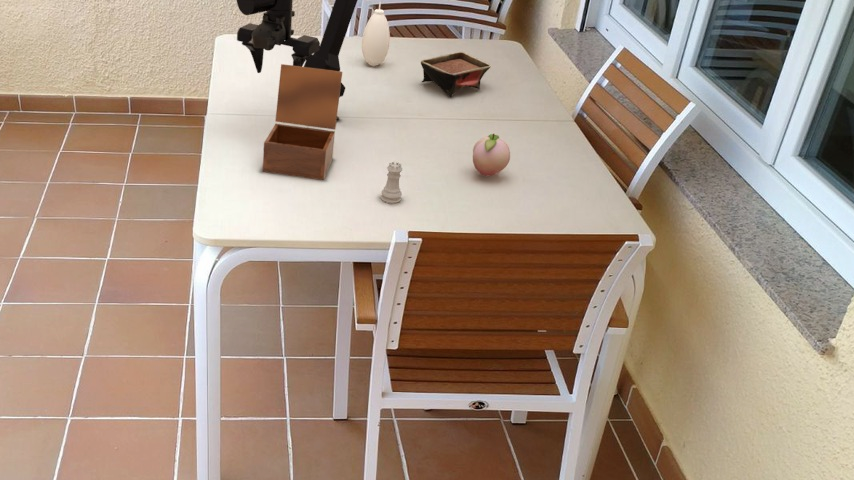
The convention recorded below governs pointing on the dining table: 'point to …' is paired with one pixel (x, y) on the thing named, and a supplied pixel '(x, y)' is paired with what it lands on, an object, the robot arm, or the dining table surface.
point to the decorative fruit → (490, 155)
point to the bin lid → (308, 96)
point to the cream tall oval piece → (376, 38)
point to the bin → (298, 151)
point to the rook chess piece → (392, 184)
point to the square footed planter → (454, 71)
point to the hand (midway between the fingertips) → (276, 76)
